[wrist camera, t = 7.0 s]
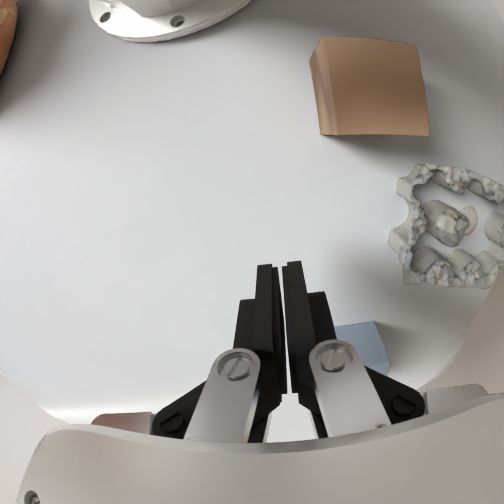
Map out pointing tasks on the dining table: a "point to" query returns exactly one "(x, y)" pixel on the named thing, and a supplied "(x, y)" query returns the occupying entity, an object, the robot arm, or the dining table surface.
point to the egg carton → (449, 230)
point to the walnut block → (368, 87)
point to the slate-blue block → (366, 344)
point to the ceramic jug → (6, 28)
